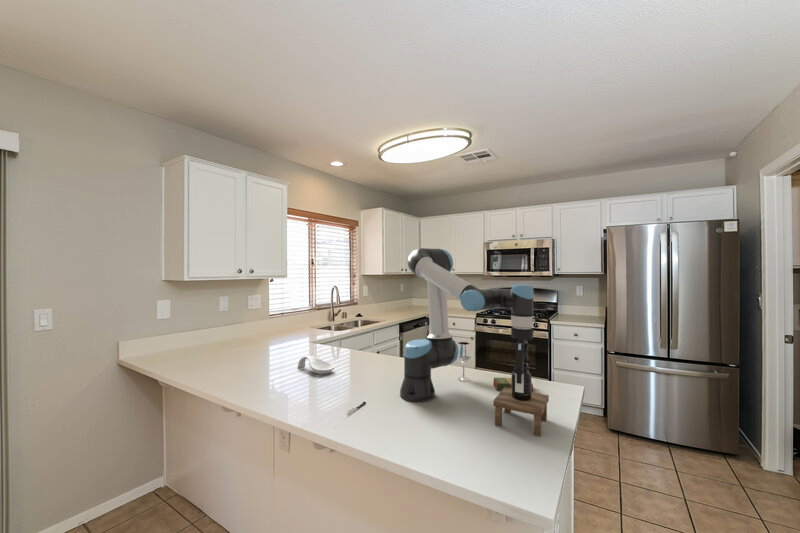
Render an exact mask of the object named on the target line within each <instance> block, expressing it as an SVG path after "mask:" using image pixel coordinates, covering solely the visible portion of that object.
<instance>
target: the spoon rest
mask: <svg viewBox="0 0 800 533" xmlns="http://www.w3.org/2000/svg"><path fill="white" fill-rule="evenodd" d="M306 360H308V362H309V366H310V368H311V370H312V371H313V372H314V373H315V374H316V375H323V376H324V375H327V374H330V373H331V372H332V371H334V369H335V364H333V363H331V362H328V361H325V360H323V359H320V358H318V357H316V356H313V355H306V356H303V357H301V358H300V359H299V361H298V364H297V368H298V369H299V368H304V367H305V366H306Z"/></svg>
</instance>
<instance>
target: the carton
mask: <svg viewBox="0 0 800 533" xmlns="http://www.w3.org/2000/svg"><path fill="white" fill-rule="evenodd" d="M492 381H493V383H492V384H493V387H494V388H495V390H496V391H497V392H501V391H502V390H503V389H504V387H507V388H512V377H493V380H492ZM531 392H534V384H533V382H531Z"/></svg>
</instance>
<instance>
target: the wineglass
mask: <svg viewBox="0 0 800 533" xmlns="http://www.w3.org/2000/svg"><path fill="white" fill-rule="evenodd" d="M457 345H458V351H459V352H458V357H457V359H456V360H458V361H459V362H460V364H461V365H462V376H459V377H456V380H458V381H459V380H460V381H459V382H470V381H471V378H469V377H468V376H465V364H467V363H469V361H470V360H471V359H472V356H473V352H472V348H471V344H470V343H469V342H467V341H460V342H458V343H457Z"/></svg>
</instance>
